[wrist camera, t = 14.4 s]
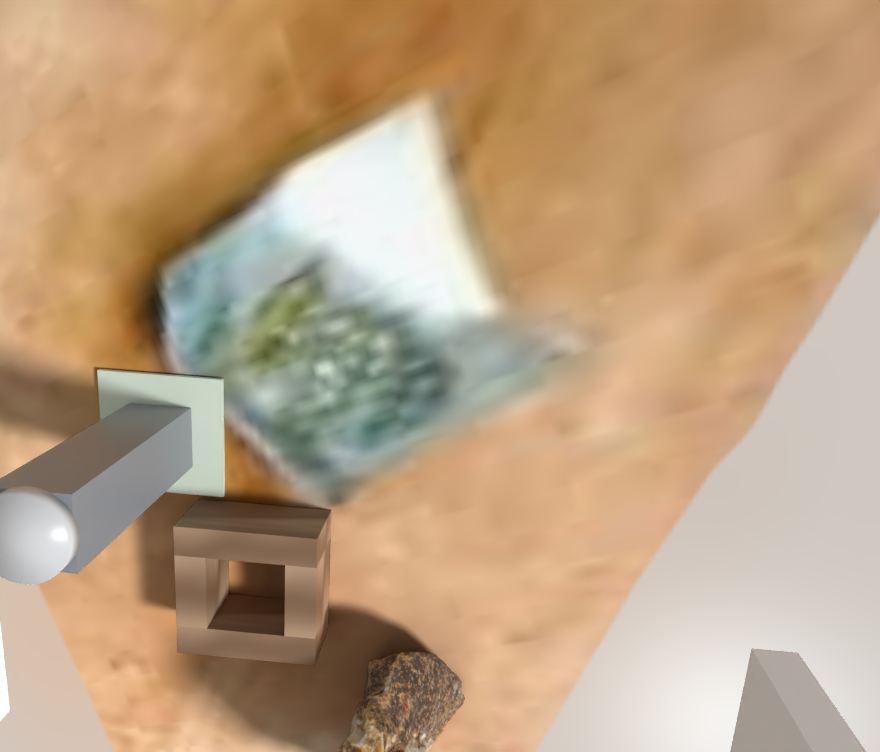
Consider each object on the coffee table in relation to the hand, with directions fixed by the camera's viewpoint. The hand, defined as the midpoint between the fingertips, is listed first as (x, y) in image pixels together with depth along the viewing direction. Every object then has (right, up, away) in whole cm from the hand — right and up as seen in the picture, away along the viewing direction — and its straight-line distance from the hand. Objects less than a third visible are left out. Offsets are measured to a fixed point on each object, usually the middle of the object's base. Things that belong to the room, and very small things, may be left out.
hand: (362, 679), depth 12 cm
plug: (-19, +1, +39) cm, 43 cm away
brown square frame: (-12, -9, +41) cm, 44 cm away
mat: (-19, +1, +39) cm, 43 cm away
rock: (-2, -21, +44) cm, 48 cm away
